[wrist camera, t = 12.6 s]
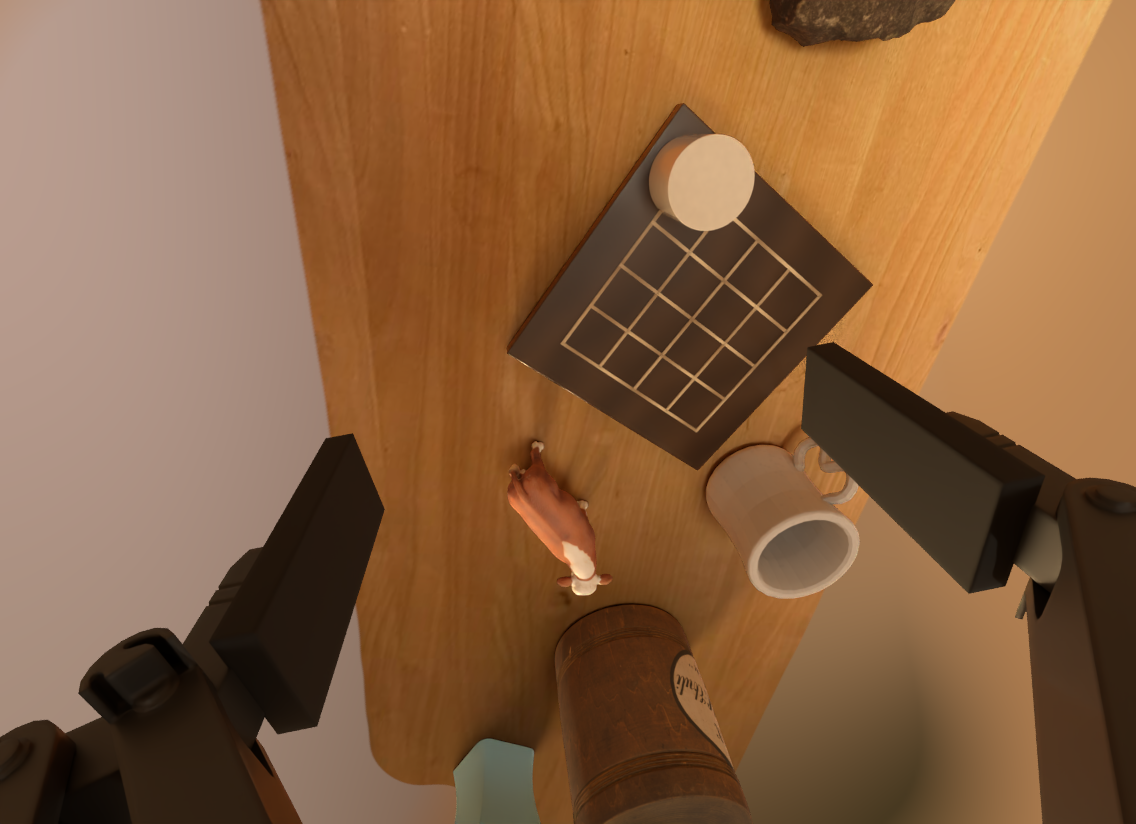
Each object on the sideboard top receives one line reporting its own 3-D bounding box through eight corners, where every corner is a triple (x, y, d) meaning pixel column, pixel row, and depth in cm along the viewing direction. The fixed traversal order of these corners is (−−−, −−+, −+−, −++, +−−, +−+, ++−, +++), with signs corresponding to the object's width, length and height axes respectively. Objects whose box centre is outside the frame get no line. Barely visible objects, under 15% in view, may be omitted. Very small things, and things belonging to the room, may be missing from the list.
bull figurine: (565, 548, 50) (576, 617, 43) (495, 445, 44) (494, 506, 37) (606, 530, 49) (624, 597, 42) (542, 422, 43) (550, 480, 36)
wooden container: (685, 679, 62) (768, 926, 43) (562, 701, 61) (590, 962, 42) (685, 591, 55) (785, 841, 35) (545, 615, 54) (570, 882, 35)
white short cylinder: (632, 188, 34) (649, 195, 30) (685, 115, 32) (710, 112, 28) (689, 236, 36) (712, 248, 32) (741, 168, 34) (772, 173, 30)
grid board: (506, 347, 40) (506, 354, 39) (677, 103, 33) (684, 102, 32) (693, 463, 47) (698, 471, 46) (864, 281, 40) (875, 285, 39)
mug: (755, 532, 52) (806, 613, 43) (683, 500, 49) (723, 580, 40) (841, 436, 47) (918, 505, 39) (768, 395, 44) (834, 459, 36)
